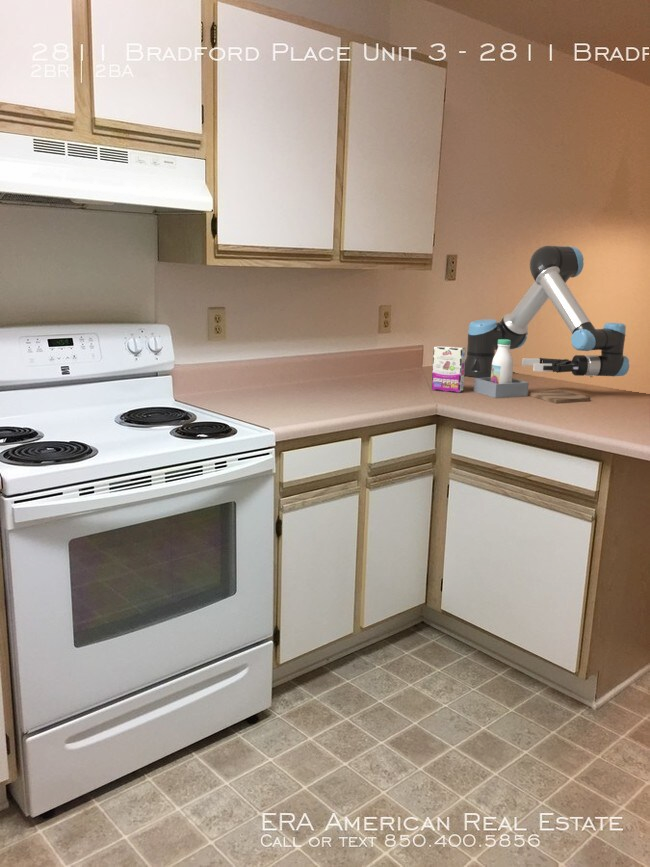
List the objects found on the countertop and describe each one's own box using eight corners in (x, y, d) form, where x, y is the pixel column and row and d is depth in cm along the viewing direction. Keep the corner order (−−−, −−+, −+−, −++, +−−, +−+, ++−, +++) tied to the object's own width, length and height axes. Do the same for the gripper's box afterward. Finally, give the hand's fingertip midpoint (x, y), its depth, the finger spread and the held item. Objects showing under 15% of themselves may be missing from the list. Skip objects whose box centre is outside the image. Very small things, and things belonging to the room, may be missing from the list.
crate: (473, 391, 273) (474, 378, 272) (504, 389, 278) (505, 376, 277) (495, 398, 260) (496, 384, 259) (527, 396, 265) (528, 382, 264)
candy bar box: (463, 391, 273) (466, 347, 269) (459, 393, 268) (462, 348, 265) (435, 388, 278) (437, 345, 274) (430, 390, 273) (433, 346, 270)
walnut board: (528, 395, 266) (529, 392, 266) (562, 393, 272) (562, 390, 271) (555, 403, 253) (556, 399, 252) (590, 401, 258) (590, 397, 258)
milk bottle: (509, 392, 272) (513, 338, 268) (512, 396, 265) (516, 341, 260) (488, 391, 273) (492, 338, 268) (490, 395, 266) (495, 340, 261)
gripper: (597, 381, 256) (537, 380, 256) (571, 370, 281) (517, 369, 280) (599, 360, 255) (539, 359, 254) (573, 351, 279) (518, 350, 278)
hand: (527, 364), depth 267 cm, fingers open, 13 cm apart
